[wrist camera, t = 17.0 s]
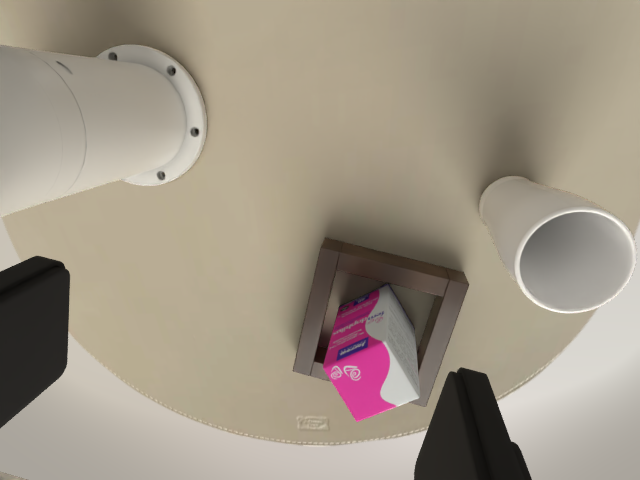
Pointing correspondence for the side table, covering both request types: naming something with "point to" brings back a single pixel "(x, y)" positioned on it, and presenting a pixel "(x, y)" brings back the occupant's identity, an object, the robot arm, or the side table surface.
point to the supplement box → (373, 354)
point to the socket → (391, 270)
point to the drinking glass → (557, 244)
